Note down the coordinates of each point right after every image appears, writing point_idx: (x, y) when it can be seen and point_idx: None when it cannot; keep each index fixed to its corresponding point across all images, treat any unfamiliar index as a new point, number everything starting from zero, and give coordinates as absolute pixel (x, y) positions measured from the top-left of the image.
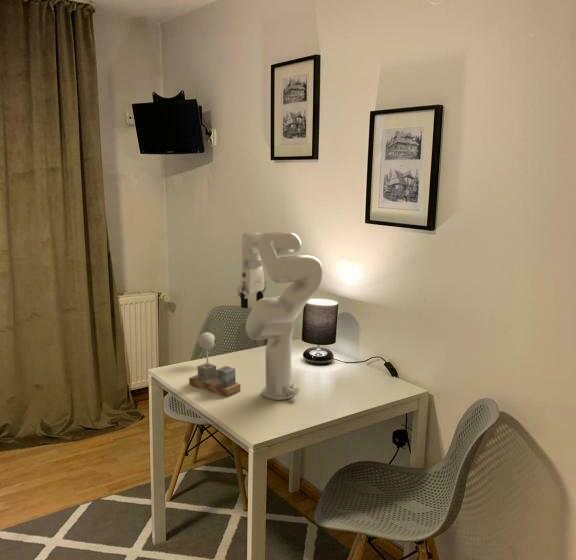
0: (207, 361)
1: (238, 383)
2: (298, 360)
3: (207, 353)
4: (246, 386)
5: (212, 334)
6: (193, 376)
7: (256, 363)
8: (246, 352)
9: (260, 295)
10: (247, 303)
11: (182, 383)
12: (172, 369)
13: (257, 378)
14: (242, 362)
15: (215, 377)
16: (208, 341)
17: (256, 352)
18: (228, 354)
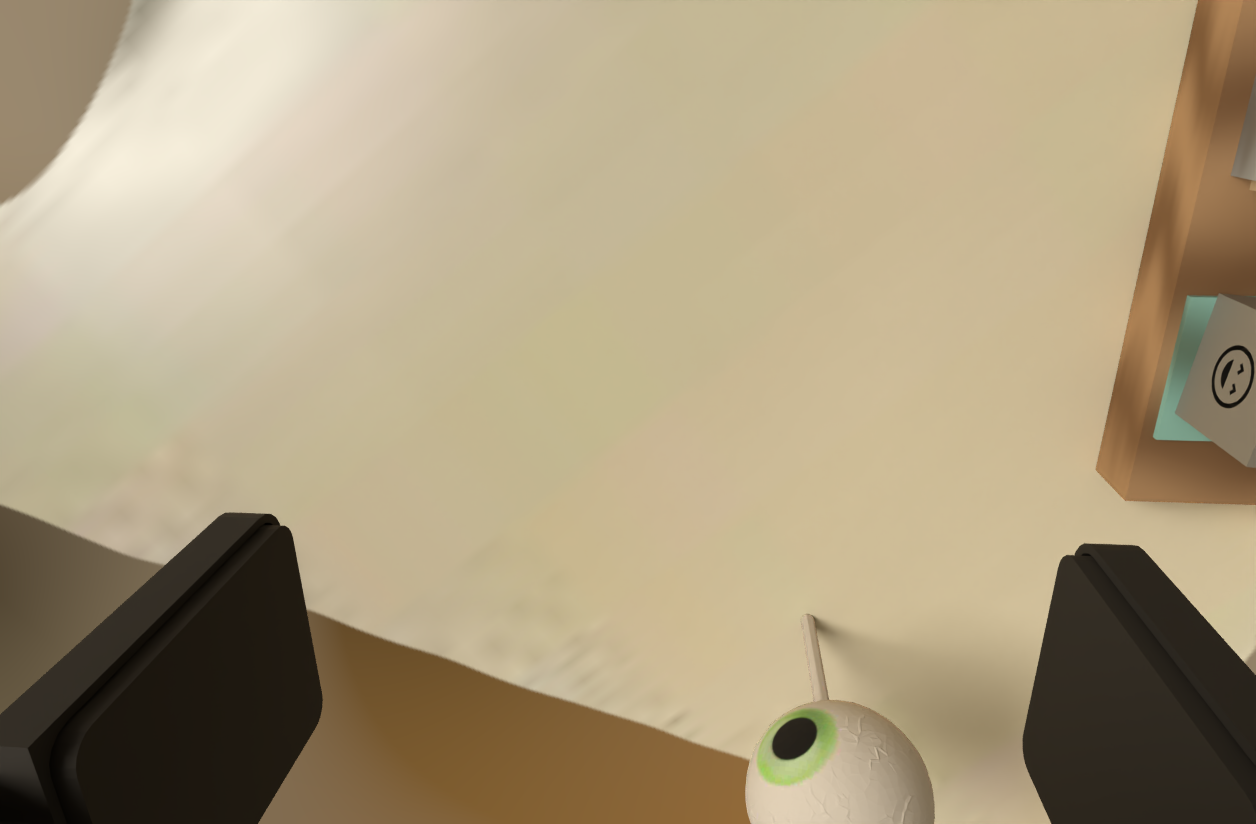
0: (818, 646)
1: (1247, 4)
2: (159, 71)
3: (824, 695)
4: (1049, 30)
5: (802, 816)
6: (1246, 499)
7: (495, 353)
8: (350, 583)
9: (130, 781)
10: (1203, 644)
11: (1236, 544)
12: (998, 775)
13: (806, 86)
14: (554, 465)
15: (1236, 297)
16: (900, 757)
17: (291, 521)
18: (483, 661)
